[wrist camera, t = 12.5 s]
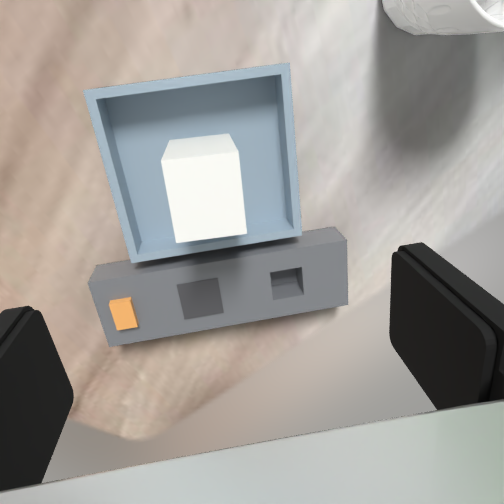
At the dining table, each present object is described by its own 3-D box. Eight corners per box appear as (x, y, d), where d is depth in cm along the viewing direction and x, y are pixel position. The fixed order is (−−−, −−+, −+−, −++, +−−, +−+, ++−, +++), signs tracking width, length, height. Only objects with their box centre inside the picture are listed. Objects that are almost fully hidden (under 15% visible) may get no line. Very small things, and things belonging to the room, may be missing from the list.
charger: (226, 129, 29) (238, 151, 21) (233, 190, 31) (247, 233, 22) (171, 135, 29) (160, 160, 20) (181, 196, 30) (176, 243, 22)
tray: (280, 63, 28) (289, 62, 25) (293, 222, 33) (302, 235, 30) (94, 88, 27) (83, 90, 24) (136, 247, 32) (131, 263, 29)
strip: (334, 226, 34) (349, 242, 30) (336, 287, 36) (350, 308, 33) (96, 265, 32) (85, 286, 29) (116, 325, 35) (107, 351, 32)
